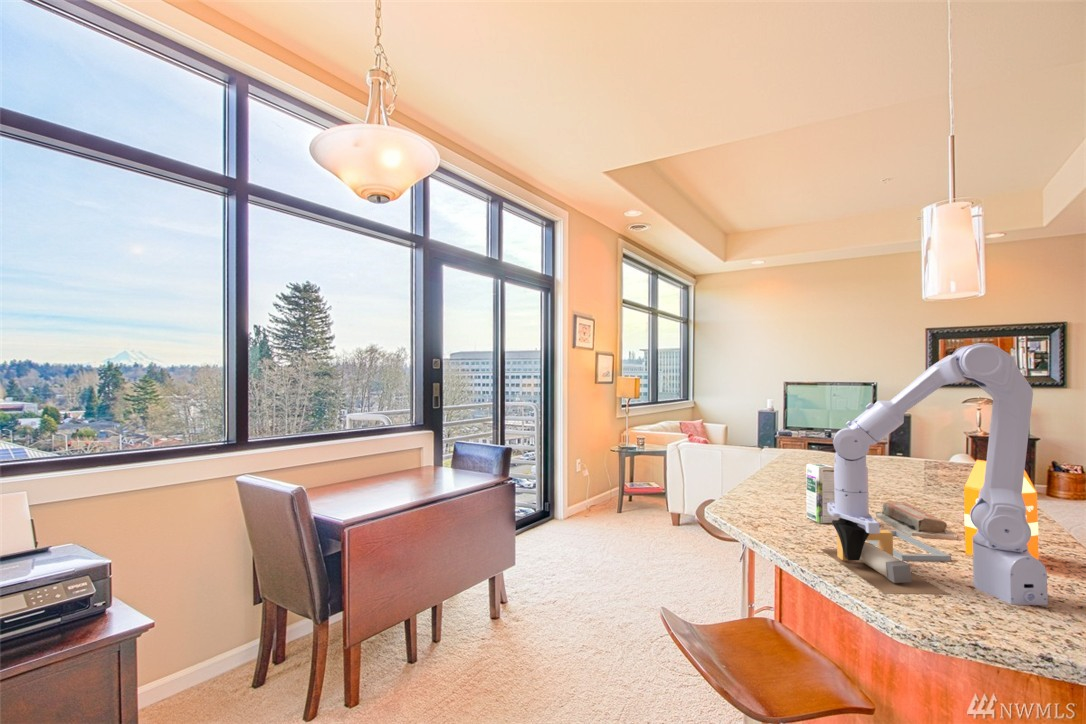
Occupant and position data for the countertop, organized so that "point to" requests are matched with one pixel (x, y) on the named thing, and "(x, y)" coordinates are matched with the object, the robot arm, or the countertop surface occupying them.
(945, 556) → the tray
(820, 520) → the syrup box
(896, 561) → the white cylinder grey cap
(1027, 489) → the orange juice
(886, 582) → the board
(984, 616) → the countertop surface
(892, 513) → the packaged product
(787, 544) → the countertop surface
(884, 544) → the yellow bridge block
